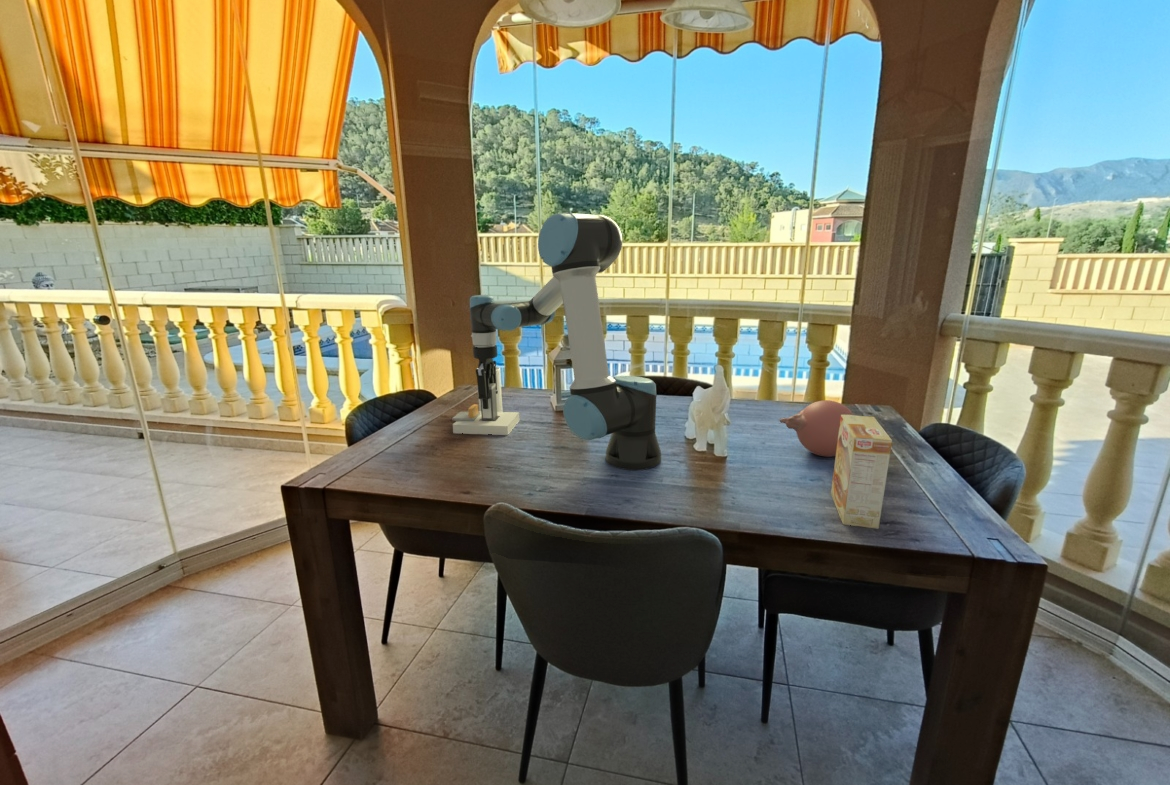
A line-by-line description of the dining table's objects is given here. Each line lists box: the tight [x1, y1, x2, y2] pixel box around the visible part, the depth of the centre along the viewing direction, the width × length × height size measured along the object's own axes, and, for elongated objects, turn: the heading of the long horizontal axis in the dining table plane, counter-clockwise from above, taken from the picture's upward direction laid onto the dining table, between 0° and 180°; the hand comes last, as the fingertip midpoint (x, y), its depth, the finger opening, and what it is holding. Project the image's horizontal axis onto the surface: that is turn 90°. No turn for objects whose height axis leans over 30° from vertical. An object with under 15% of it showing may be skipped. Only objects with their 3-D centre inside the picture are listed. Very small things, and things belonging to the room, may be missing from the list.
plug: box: [480, 383, 498, 421], centre depth 164 cm, size 4×4×12 cm
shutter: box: [451, 403, 480, 422], centre depth 166 cm, size 7×7×4 cm
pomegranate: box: [779, 399, 855, 458], centre depth 139 cm, size 15×20×15 cm
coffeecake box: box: [830, 414, 893, 530], centre depth 108 cm, size 15×7×20 cm, turn 163°
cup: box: [476, 366, 504, 412], centre depth 180 cm, size 8×8×16 cm
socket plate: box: [452, 410, 520, 436], centre depth 166 cm, size 18×14×3 cm
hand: (489, 415), depth 165 cm, fingers closed on plug, 4 cm apart
